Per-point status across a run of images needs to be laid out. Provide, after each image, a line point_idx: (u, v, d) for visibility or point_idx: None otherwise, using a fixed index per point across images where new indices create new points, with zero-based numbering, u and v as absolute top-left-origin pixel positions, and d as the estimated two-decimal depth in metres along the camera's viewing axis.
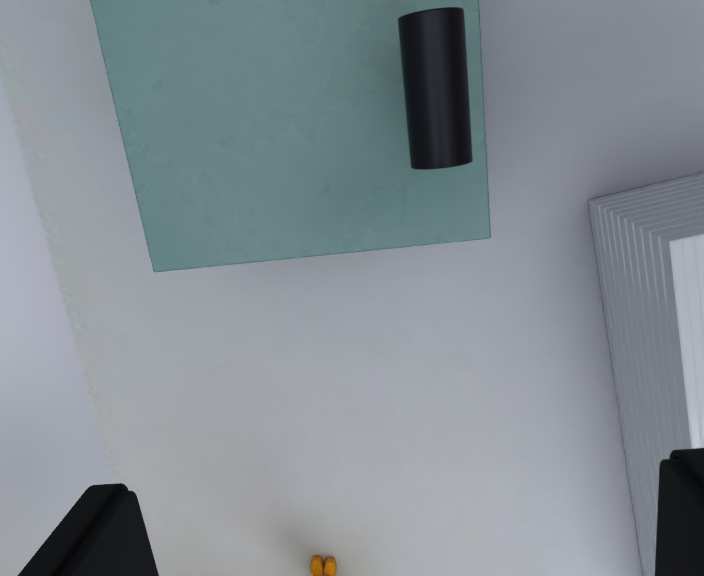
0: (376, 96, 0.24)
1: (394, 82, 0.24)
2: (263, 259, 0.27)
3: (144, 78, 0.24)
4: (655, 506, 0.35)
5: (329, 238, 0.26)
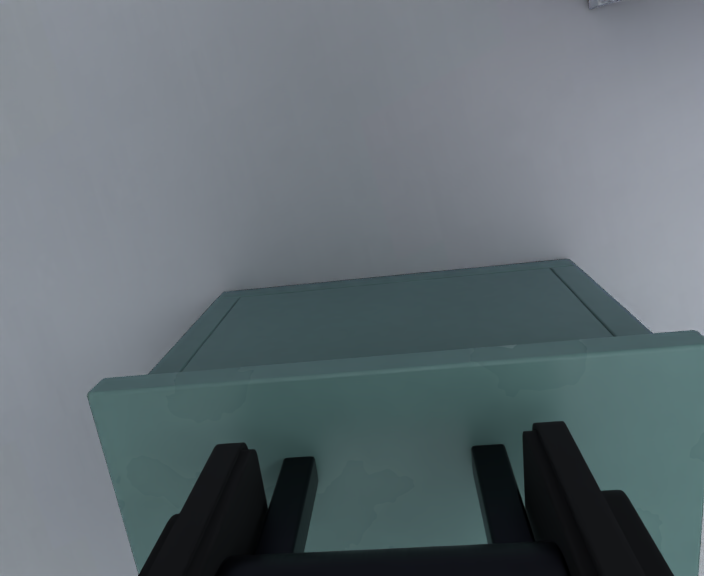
0: (395, 547, 0.13)
1: (371, 518, 0.13)
2: None
3: None
4: None
5: None
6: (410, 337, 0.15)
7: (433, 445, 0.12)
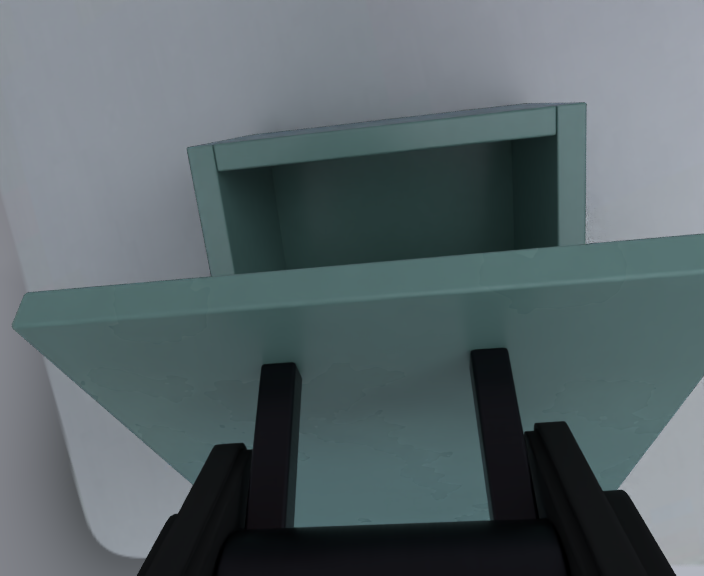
0: (384, 411, 0.13)
1: (359, 396, 0.12)
2: (621, 481, 0.17)
3: (356, 524, 0.21)
4: None
5: (624, 443, 0.14)
6: (397, 121, 0.21)
7: (428, 350, 0.11)
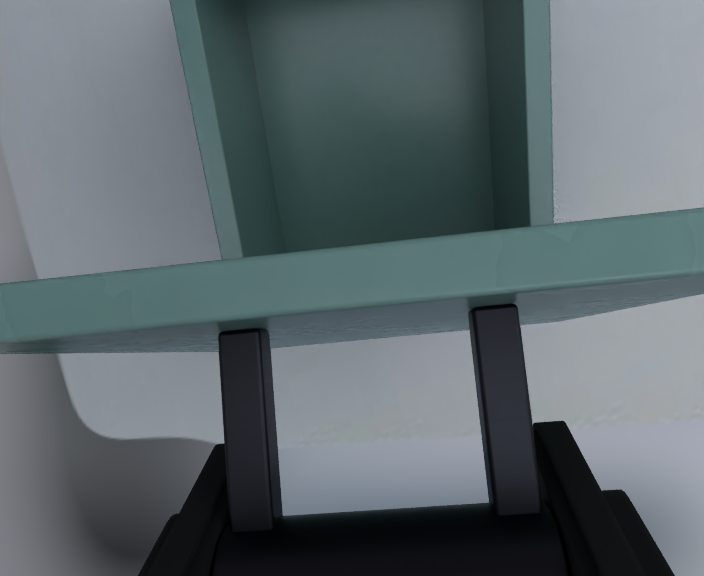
0: (365, 325, 0.11)
1: (338, 325, 0.11)
2: (603, 312, 0.17)
3: (335, 341, 0.21)
4: None
5: (619, 306, 0.14)
6: None
7: (420, 312, 0.09)
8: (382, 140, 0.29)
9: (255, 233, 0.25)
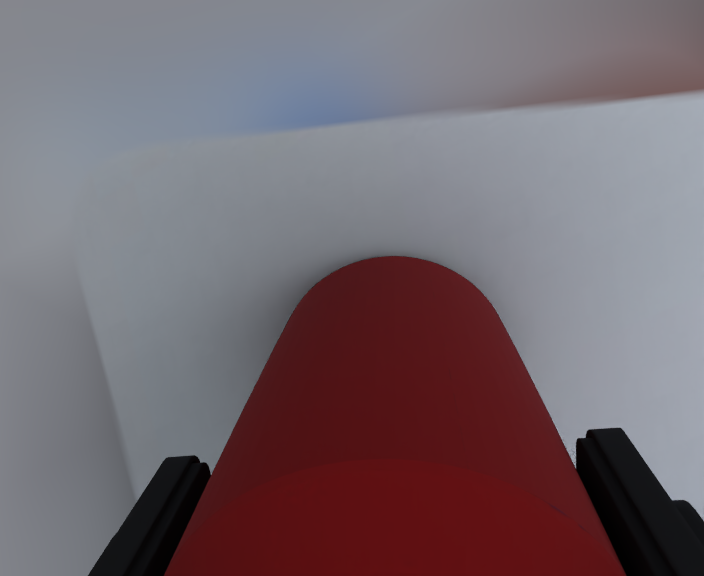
0: None
1: None
2: None
3: None
4: None
5: None
6: None
7: None
8: None
9: None
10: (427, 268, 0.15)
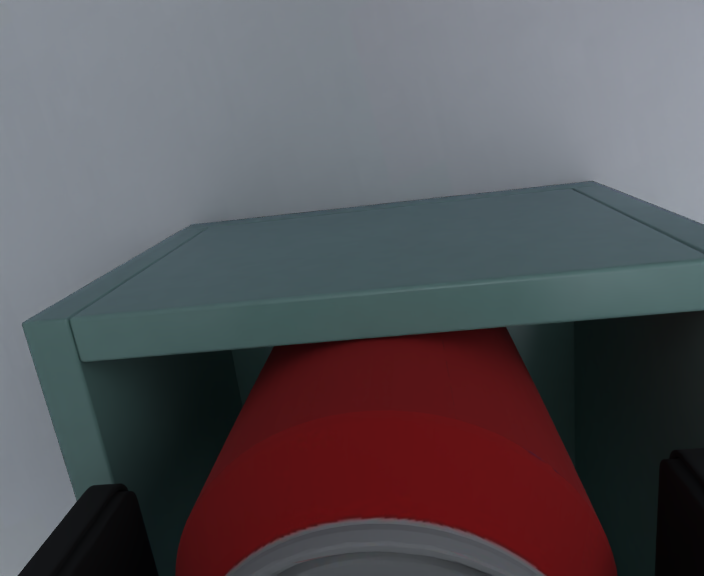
0: None
1: None
2: None
3: None
4: None
5: None
6: (403, 246, 0.12)
7: None
8: None
9: None
10: None
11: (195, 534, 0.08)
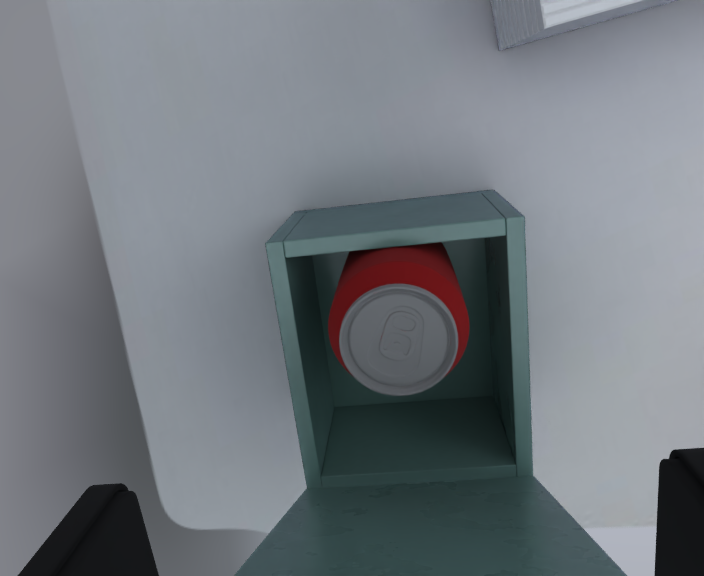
0: None
1: None
2: None
3: None
4: None
5: None
6: (402, 217, 0.31)
7: None
8: None
9: (319, 411, 0.34)
10: None
11: (339, 300, 0.27)
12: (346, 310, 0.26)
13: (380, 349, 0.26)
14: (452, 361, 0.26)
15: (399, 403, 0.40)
